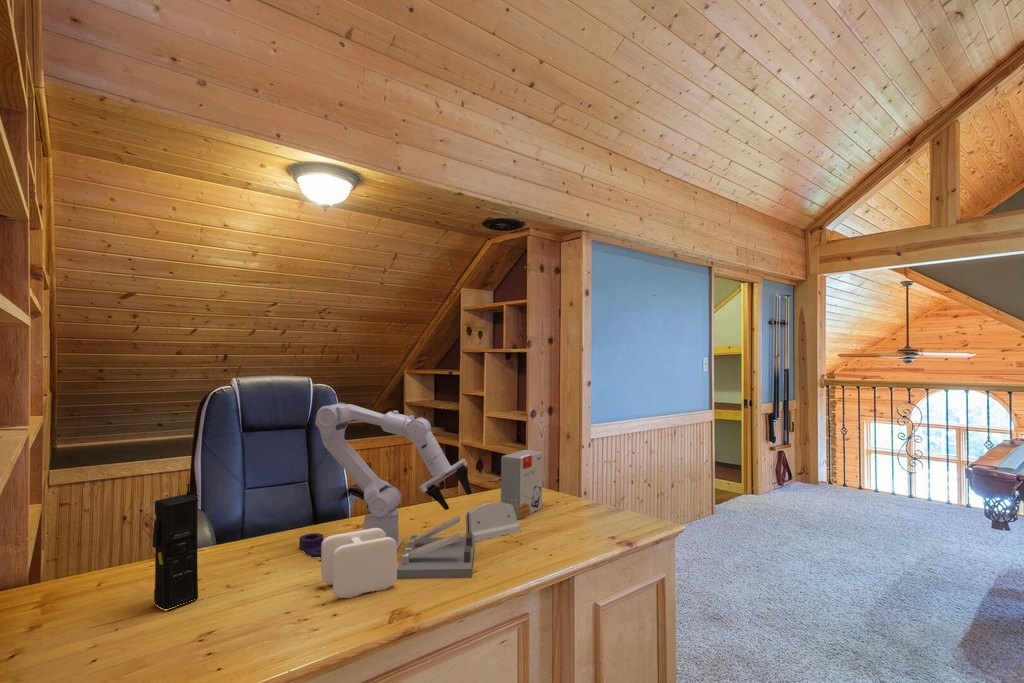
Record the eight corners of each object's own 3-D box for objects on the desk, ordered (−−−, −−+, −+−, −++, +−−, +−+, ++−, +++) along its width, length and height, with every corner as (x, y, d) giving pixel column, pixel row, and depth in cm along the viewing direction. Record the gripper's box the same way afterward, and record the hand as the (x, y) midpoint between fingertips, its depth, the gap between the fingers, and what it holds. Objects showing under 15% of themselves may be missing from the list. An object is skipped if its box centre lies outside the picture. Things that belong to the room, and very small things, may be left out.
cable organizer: (330, 604, 114) (330, 550, 114) (320, 585, 123) (320, 535, 124) (397, 588, 122) (397, 537, 122) (383, 571, 131) (383, 524, 131)
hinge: (473, 542, 151) (468, 506, 154) (466, 543, 154) (461, 508, 157) (522, 531, 160) (516, 497, 163) (514, 532, 163) (508, 499, 166)
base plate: (396, 578, 127) (396, 559, 127) (410, 544, 149) (410, 528, 149) (471, 577, 127) (471, 558, 128) (474, 544, 149) (474, 527, 150)
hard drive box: (519, 520, 170) (519, 458, 171) (499, 516, 175) (499, 456, 175) (543, 508, 183) (543, 451, 184) (524, 505, 188) (524, 448, 188)
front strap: (404, 562, 131) (402, 556, 131) (406, 557, 134) (404, 552, 134) (459, 541, 132) (457, 535, 132) (460, 536, 135) (458, 531, 135)
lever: (296, 547, 148) (296, 536, 148) (319, 542, 152) (319, 531, 152) (307, 561, 138) (308, 549, 138) (332, 555, 142) (332, 544, 142)
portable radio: (160, 615, 109) (162, 494, 110) (147, 607, 113) (148, 490, 113) (200, 599, 116) (201, 485, 117) (185, 593, 119) (187, 482, 120)
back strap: (410, 547, 141) (408, 542, 141) (412, 543, 144) (410, 538, 144) (460, 522, 142) (457, 517, 142) (460, 519, 145) (458, 514, 145)
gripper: (415, 469, 139) (441, 515, 138) (460, 442, 147) (484, 486, 145) (409, 473, 145) (433, 516, 144) (452, 446, 153) (475, 488, 151)
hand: (458, 501), depth 145 cm, fingers open, 7 cm apart
